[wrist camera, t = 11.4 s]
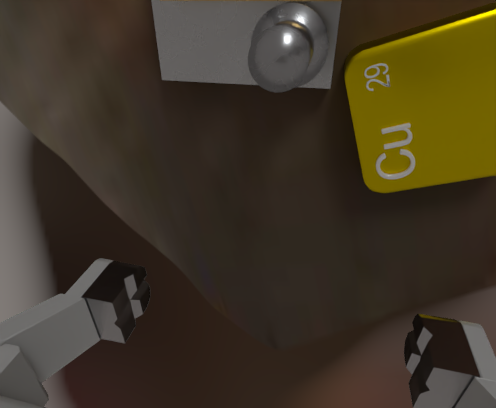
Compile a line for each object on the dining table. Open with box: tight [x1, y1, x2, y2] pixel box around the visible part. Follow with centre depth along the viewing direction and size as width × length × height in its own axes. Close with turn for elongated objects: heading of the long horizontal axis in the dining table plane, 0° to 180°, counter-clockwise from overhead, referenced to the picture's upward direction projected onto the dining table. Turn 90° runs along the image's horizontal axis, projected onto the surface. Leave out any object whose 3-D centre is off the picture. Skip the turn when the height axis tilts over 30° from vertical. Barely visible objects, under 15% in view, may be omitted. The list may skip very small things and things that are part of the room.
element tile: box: [344, 3, 496, 193], centre depth 33 cm, size 15×15×5 cm
